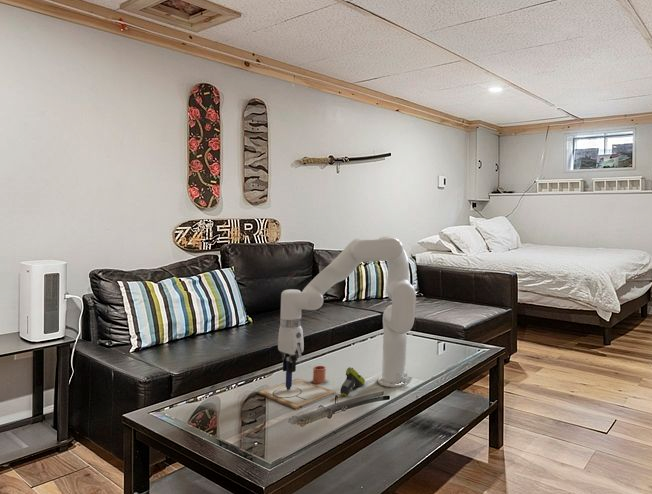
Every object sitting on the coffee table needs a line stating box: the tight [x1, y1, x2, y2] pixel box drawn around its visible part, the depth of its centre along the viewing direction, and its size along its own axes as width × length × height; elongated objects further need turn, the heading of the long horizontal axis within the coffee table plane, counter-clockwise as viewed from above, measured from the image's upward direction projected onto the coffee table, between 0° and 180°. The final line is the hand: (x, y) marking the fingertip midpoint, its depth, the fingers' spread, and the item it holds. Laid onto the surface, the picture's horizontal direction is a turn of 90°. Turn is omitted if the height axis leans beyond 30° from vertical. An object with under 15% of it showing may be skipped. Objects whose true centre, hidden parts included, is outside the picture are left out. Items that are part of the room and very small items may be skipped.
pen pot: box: [312, 365, 327, 384], centre depth 197 cm, size 5×5×6 cm
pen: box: [285, 357, 293, 390], centre depth 186 cm, size 2×2×12 cm
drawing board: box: [258, 378, 336, 410], centre depth 185 cm, size 22×18×1 cm
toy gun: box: [339, 366, 366, 398], centre depth 189 cm, size 2×14×10 cm
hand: (289, 370), depth 186 cm, fingers closed on pen, 2 cm apart
